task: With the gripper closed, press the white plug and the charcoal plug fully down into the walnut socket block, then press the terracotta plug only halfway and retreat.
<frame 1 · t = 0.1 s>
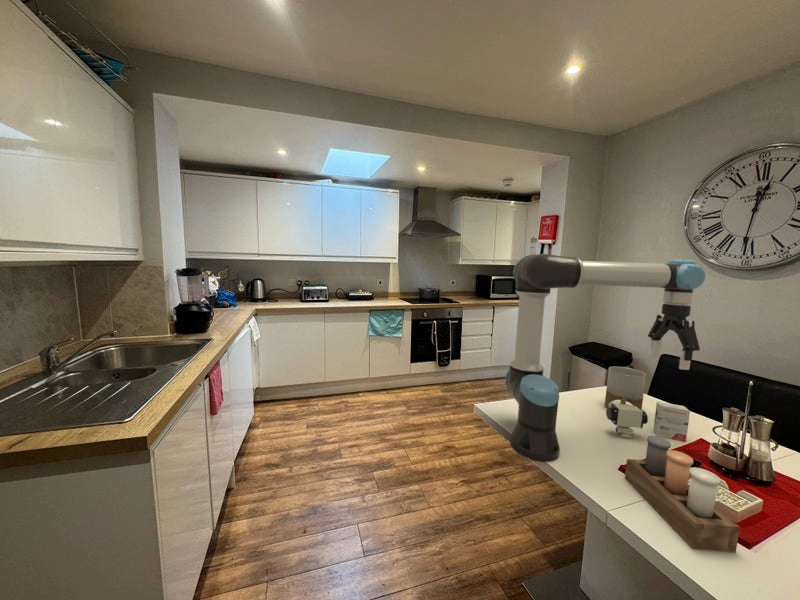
hand: (668, 363, 112), 28 cm above the table, fingers open, 13 cm apart
planter: (622, 411, 137), on the table
socket block: (672, 509, 80), on the table
plug charcoal: (656, 456, 86), point 10 cm above the table, slide at 0.0 cm
plug white: (701, 493, 72), point 10 cm above the table, slide at 0.0 cm
ink box: (668, 436, 117), on the table
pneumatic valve: (623, 435, 116), on the table
plug terracotta: (677, 473, 79), point 10 cm above the table, slide at 0.0 cm
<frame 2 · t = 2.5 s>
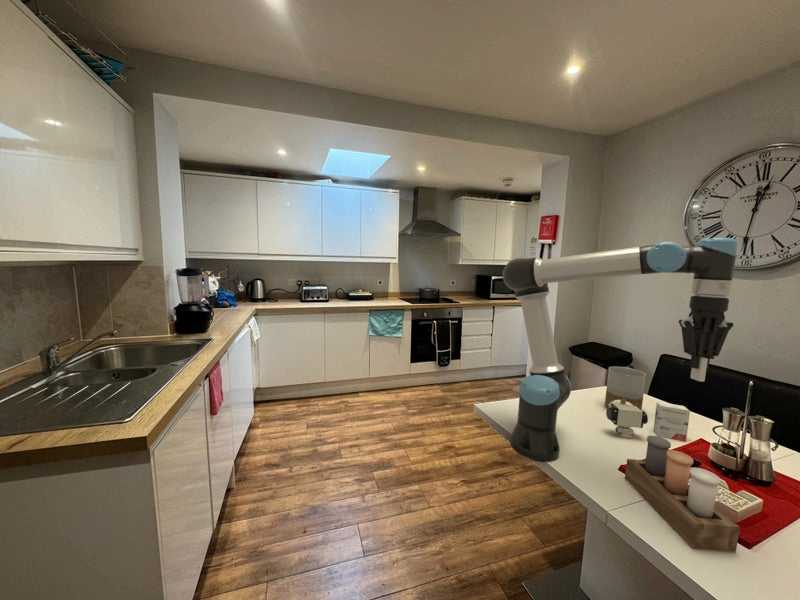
hand: (697, 379, 88), 30 cm above the table, fingers closed
nothing on the table moved.
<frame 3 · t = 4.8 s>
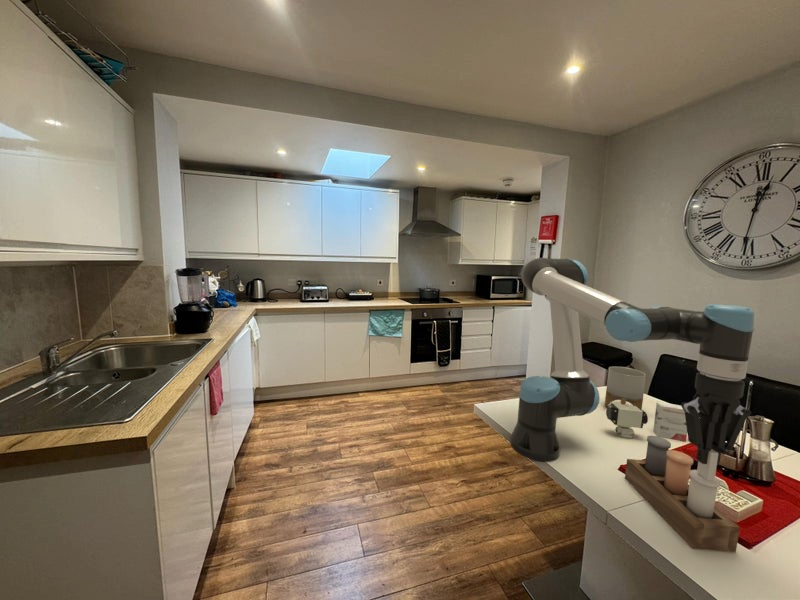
hand: (705, 476, 71), 14 cm above the table, fingers closed
plug white: (701, 496, 72), point 9 cm above the table, slide at 0.6 cm, touching gripper
everything else where it was.
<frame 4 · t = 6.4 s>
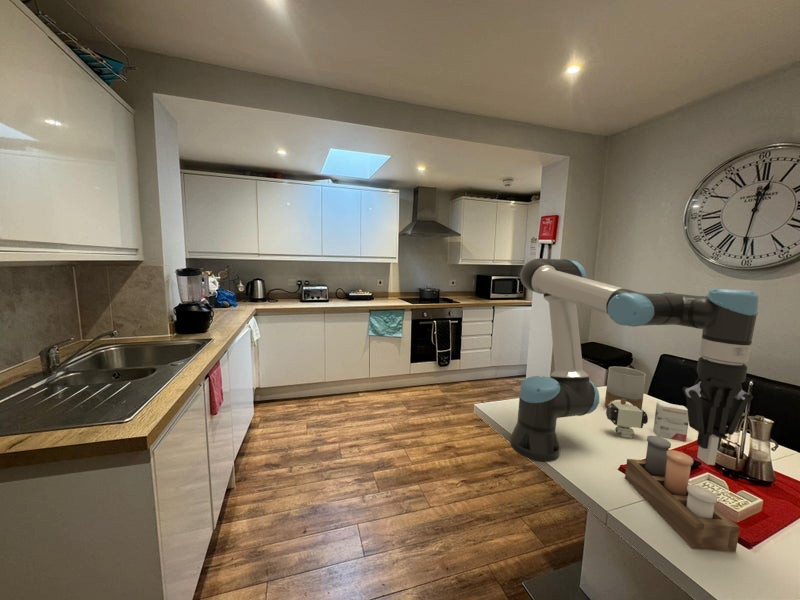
hand: (705, 460, 71), 18 cm above the table, fingers closed
plug white: (699, 511, 72), point 6 cm above the table, slide at 4.4 cm
everything else where it was.
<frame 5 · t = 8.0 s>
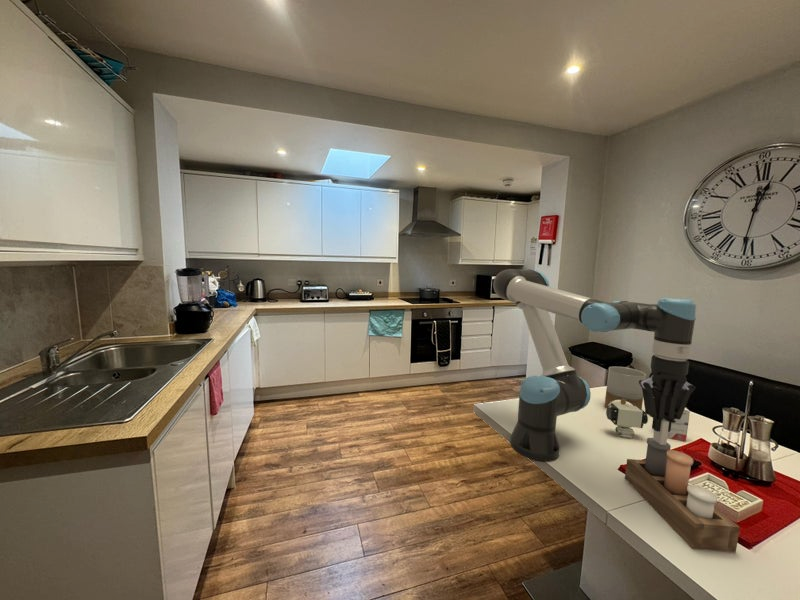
hand: (659, 442, 85), 14 cm above the table, fingers closed
plug charcoal: (656, 458, 86), point 9 cm above the table, slide at 0.6 cm, touching gripper
everything else where it was.
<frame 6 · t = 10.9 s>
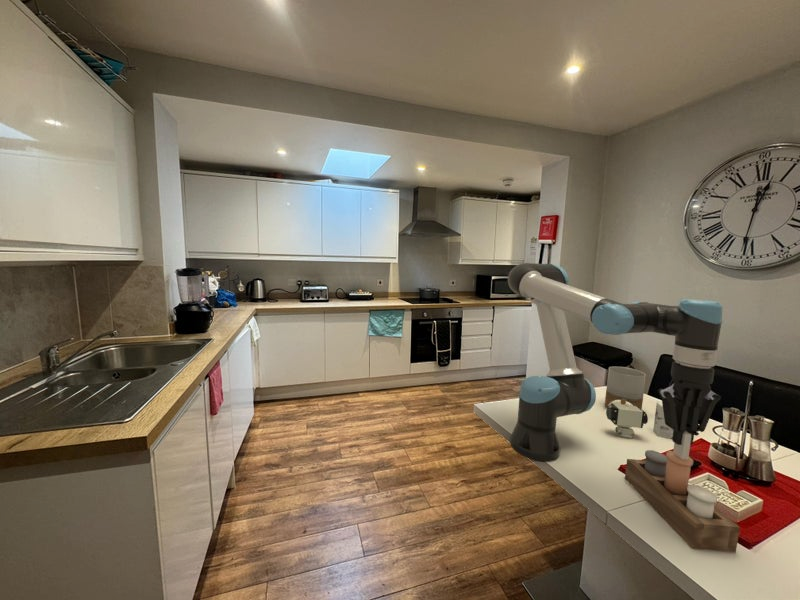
hand: (680, 456, 78), 15 cm above the table, fingers closed
plug charcoal: (654, 471, 86), point 6 cm above the table, slide at 4.4 cm
plug terracotta: (677, 474, 79), point 10 cm above the table, slide at 0.2 cm, touching gripper
everything else where it was.
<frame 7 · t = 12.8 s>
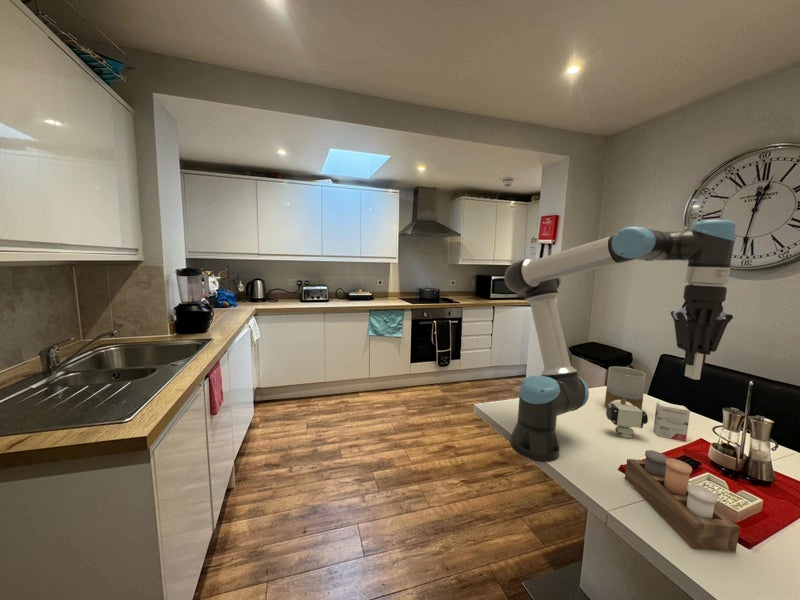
hand: (692, 377, 80), 34 cm above the table, fingers closed
plug terracotta: (676, 481, 79), point 8 cm above the table, slide at 2.3 cm
everything else where it was.
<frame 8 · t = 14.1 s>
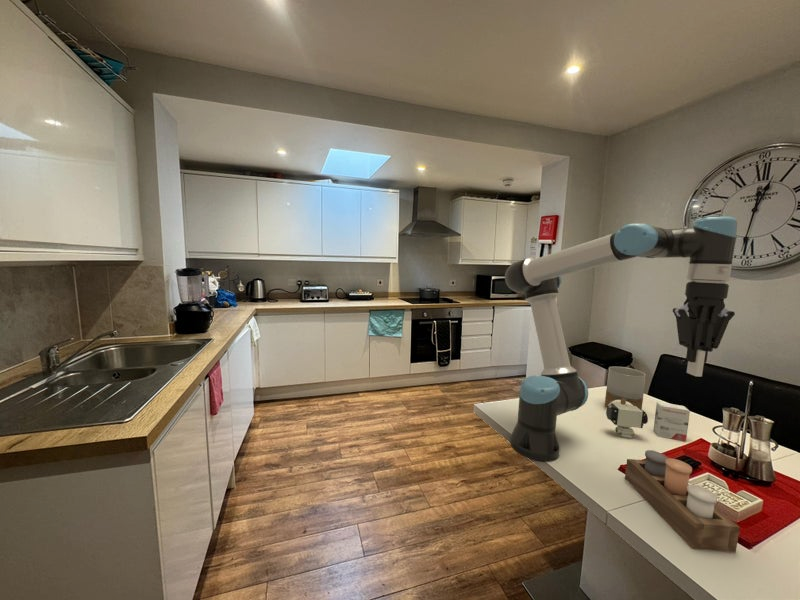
hand: (694, 374, 80), 34 cm above the table, fingers closed
nothing on the table moved.
at the end: plug white slide at 4.4 cm; plug charcoal slide at 4.4 cm; plug terracotta slide at 2.3 cm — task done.
